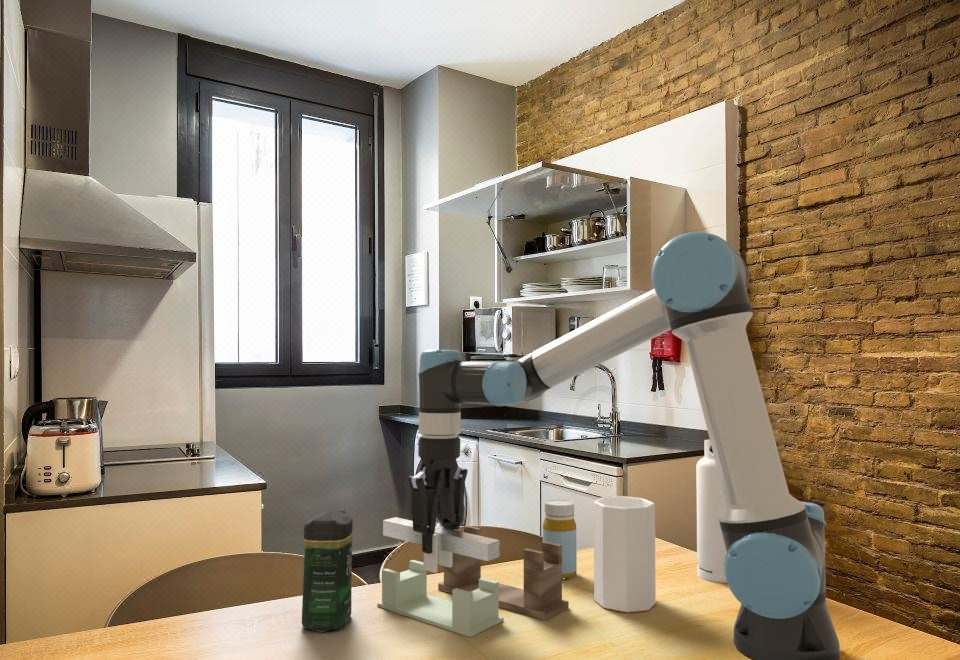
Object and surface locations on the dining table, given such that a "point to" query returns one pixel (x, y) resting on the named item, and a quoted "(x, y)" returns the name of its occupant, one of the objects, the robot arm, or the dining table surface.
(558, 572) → the rack
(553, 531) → the bottle
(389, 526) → the rail
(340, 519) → the coffee jar
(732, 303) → the robot arm
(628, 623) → the dining table surface
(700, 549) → the bottle
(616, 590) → the cup
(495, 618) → the rest
